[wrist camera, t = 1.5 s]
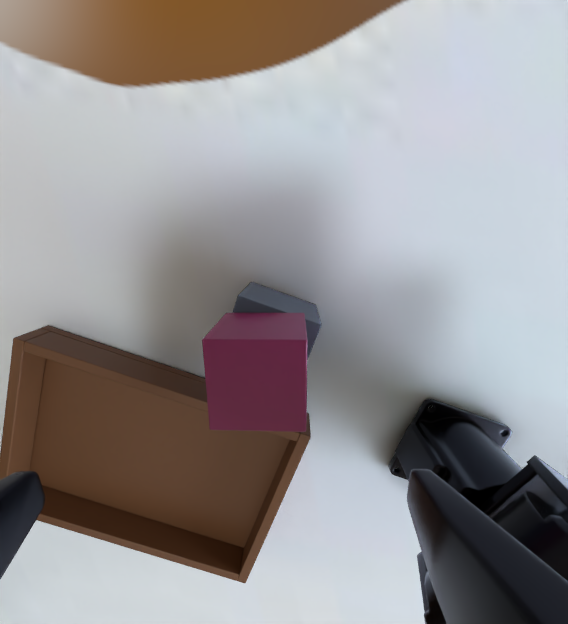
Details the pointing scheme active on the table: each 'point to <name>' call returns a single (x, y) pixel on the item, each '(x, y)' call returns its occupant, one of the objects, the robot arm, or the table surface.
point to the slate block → (278, 307)
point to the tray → (141, 454)
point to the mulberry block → (257, 372)
